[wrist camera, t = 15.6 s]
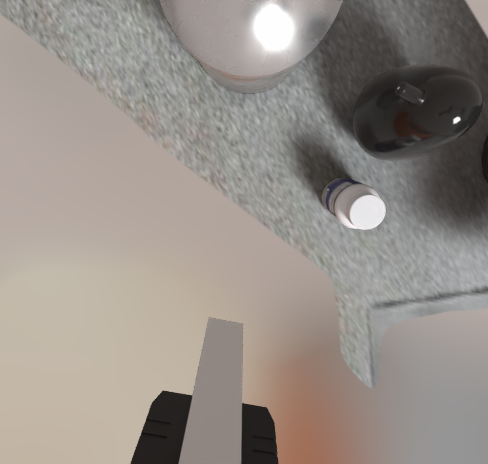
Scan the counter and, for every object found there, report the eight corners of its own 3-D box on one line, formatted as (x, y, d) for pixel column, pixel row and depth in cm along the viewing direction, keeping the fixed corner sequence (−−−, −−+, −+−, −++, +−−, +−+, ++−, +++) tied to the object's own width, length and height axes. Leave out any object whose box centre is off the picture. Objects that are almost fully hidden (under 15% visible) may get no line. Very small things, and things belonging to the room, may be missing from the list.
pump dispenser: (360, 62, 36) (436, 12, 22) (435, 90, 37) (556, 59, 23) (329, 144, 39) (377, 147, 25) (399, 168, 40) (486, 184, 26)
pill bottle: (367, 197, 42) (402, 214, 32) (336, 222, 43) (362, 245, 33) (344, 169, 40) (373, 177, 31) (313, 195, 42) (333, 211, 32)
